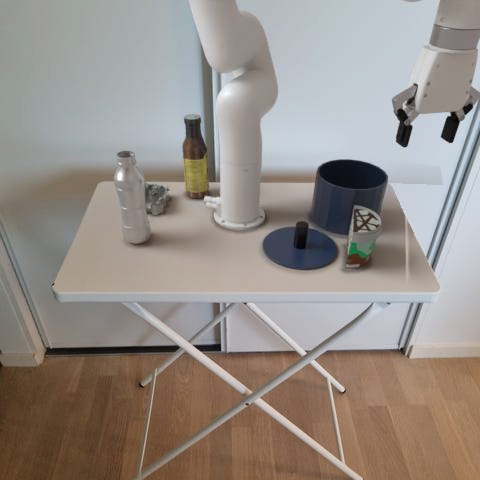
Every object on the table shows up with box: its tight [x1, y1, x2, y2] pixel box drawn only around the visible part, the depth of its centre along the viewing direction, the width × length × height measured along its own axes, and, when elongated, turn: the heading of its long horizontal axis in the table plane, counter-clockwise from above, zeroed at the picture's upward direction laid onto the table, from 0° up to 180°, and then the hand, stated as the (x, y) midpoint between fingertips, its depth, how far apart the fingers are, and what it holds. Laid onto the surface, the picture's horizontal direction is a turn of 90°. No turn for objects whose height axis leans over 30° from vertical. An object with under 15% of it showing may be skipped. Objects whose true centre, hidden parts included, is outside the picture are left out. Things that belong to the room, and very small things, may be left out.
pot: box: [310, 158, 389, 237], centre depth 111 cm, size 16×16×12 cm
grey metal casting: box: [145, 182, 170, 216], centre depth 117 cm, size 11×8×4 cm
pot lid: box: [262, 220, 338, 271], centre depth 102 cm, size 17×17×7 cm
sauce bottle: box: [181, 113, 210, 199], centre depth 116 cm, size 7×6×20 cm
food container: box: [344, 205, 383, 270], centre depth 98 cm, size 12×6×10 cm, turn 168°
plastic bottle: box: [113, 150, 152, 244], centre depth 99 cm, size 6×7×20 cm
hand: (424, 142), depth 87 cm, fingers open, 9 cm apart
